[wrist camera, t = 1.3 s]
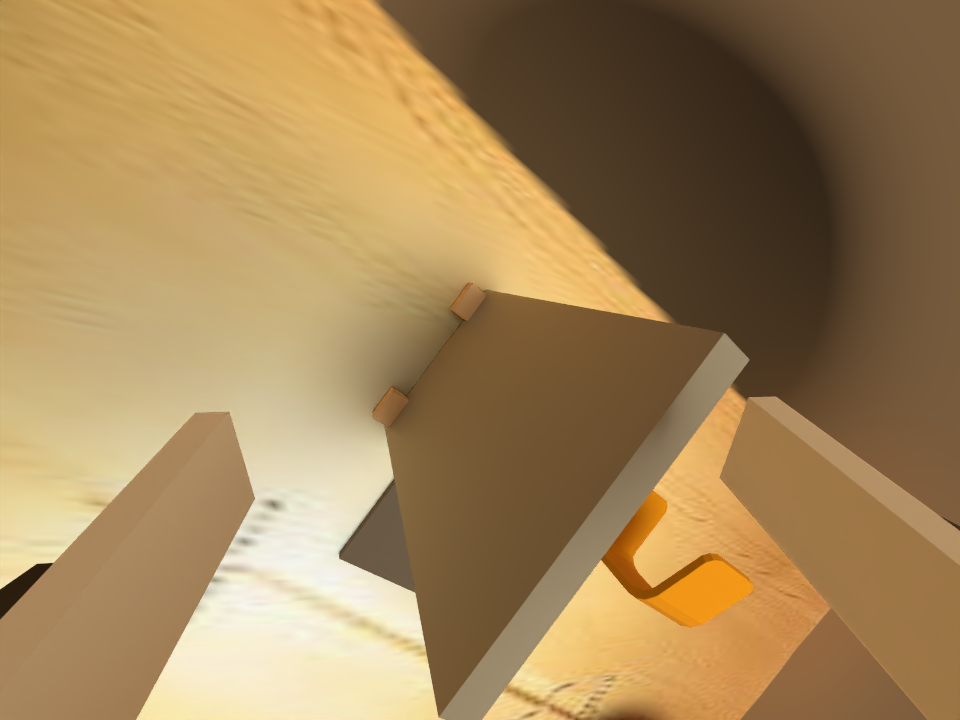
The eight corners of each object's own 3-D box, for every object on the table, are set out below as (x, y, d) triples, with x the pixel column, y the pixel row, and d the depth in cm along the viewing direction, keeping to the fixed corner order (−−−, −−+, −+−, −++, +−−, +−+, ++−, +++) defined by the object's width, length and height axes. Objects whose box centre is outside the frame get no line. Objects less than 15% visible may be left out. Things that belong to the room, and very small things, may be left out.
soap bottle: (580, 410, 45) (816, 560, 22) (529, 476, 45) (711, 697, 22) (521, 363, 42) (726, 481, 19) (466, 434, 42) (604, 641, 19)
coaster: (339, 553, 41) (339, 558, 40) (412, 454, 41) (413, 458, 40) (436, 596, 45) (437, 602, 44) (502, 507, 45) (505, 511, 44)
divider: (369, 416, 39) (396, 703, 13) (472, 278, 38) (695, 302, 13) (412, 443, 40) (510, 740, 15) (510, 310, 40) (773, 385, 15)
